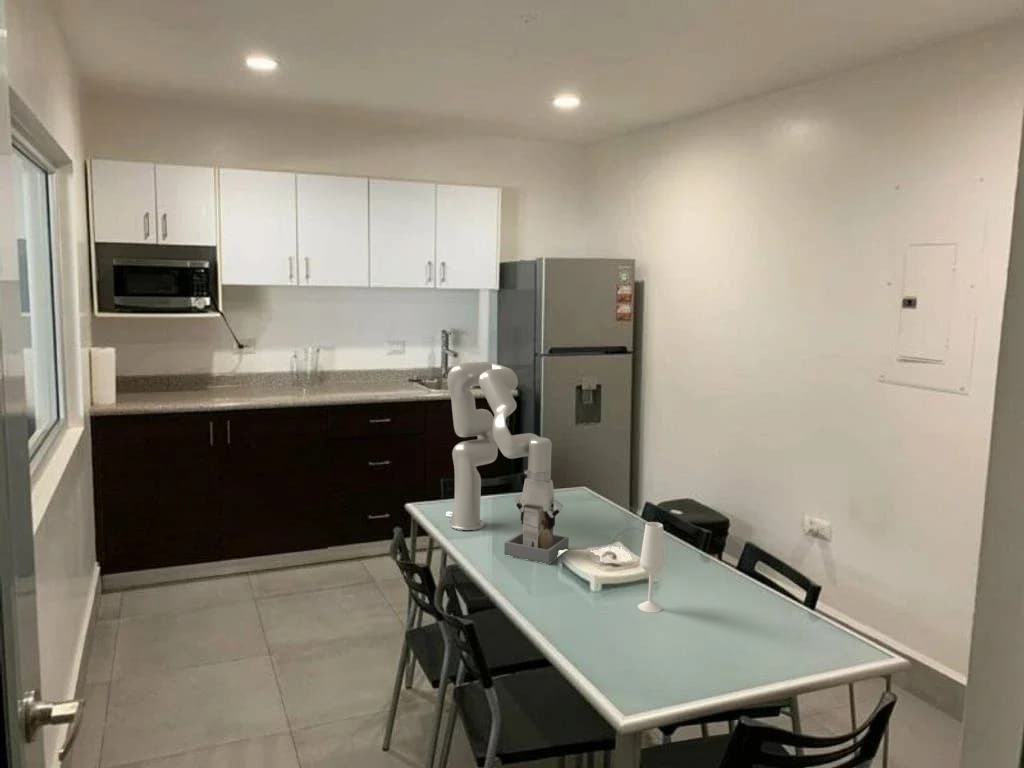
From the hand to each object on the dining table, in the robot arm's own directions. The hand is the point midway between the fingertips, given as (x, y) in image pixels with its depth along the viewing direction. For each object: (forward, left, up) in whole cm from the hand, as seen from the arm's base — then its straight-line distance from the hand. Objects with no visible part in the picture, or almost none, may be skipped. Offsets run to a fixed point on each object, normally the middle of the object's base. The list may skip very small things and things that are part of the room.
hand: (537, 525), depth 256 cm
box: (0, 0, -9) cm, 9 cm away
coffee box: (0, 0, -9) cm, 9 cm away
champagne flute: (+46, -23, -10) cm, 52 cm away
